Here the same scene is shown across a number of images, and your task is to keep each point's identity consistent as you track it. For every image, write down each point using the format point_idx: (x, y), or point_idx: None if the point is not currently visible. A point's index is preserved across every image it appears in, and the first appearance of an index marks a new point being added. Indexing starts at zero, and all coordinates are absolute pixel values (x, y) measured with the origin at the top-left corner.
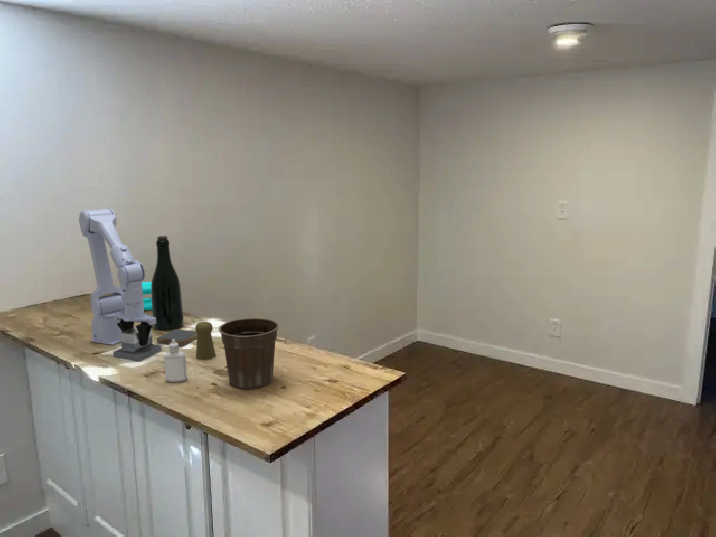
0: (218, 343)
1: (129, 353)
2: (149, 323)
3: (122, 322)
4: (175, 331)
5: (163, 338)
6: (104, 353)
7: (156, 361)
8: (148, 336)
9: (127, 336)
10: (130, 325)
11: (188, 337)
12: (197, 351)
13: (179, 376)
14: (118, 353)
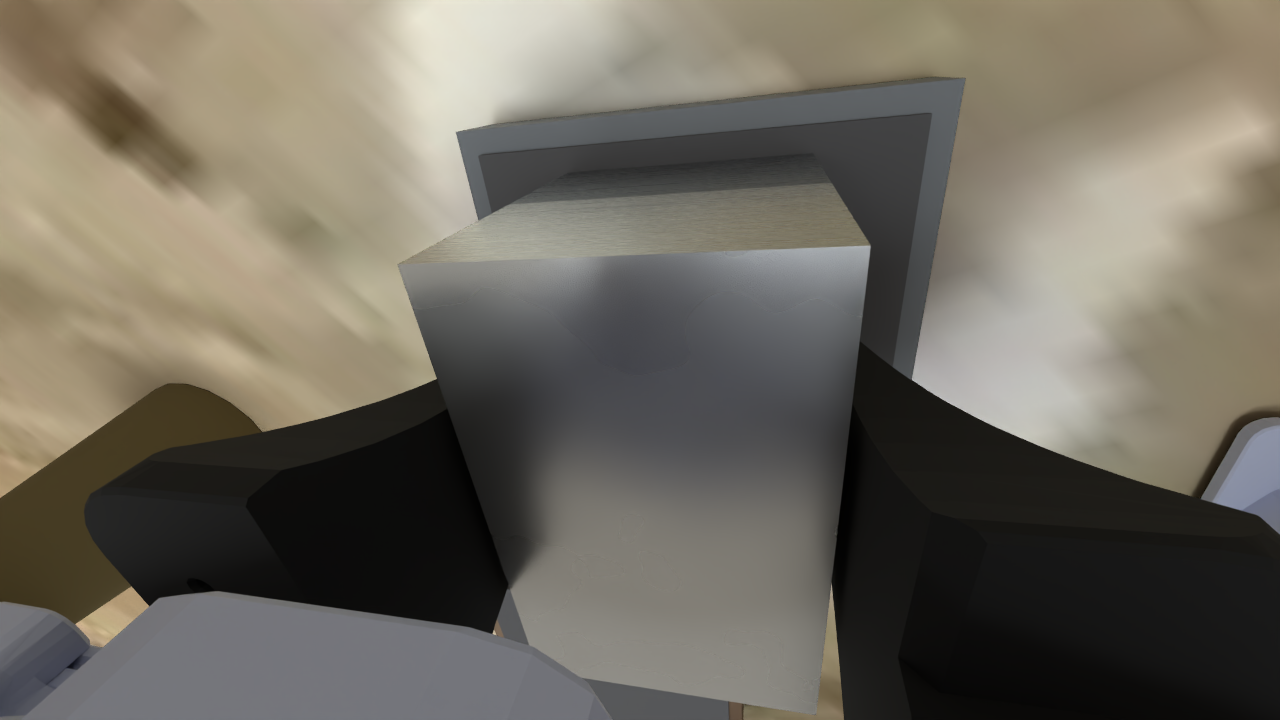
0: None
1: (640, 138)
2: (11, 645)
3: (1107, 709)
4: (694, 716)
5: None
6: (1215, 137)
7: (369, 217)
8: None
9: (614, 236)
10: (854, 648)
11: None
12: (143, 430)
13: None
14: (842, 91)
